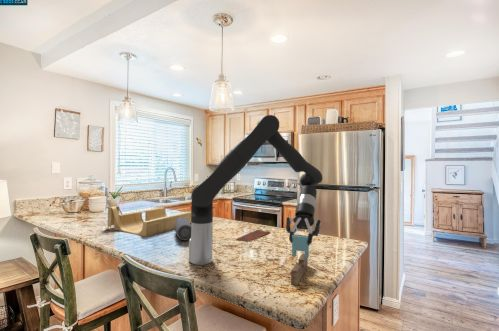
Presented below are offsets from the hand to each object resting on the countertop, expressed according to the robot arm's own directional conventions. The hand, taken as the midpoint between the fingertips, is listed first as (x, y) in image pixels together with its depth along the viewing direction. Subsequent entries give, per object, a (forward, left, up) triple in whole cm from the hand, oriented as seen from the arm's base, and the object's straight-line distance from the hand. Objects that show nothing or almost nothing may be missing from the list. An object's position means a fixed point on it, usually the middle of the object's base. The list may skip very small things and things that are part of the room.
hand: (299, 242), depth 101 cm
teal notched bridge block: (0, +1, -6) cm, 6 cm away
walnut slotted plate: (0, +1, -12) cm, 13 cm away
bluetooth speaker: (-73, +26, -13) cm, 79 cm away
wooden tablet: (-37, +46, -13) cm, 60 cm away
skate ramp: (-109, +39, -13) cm, 116 cm away
